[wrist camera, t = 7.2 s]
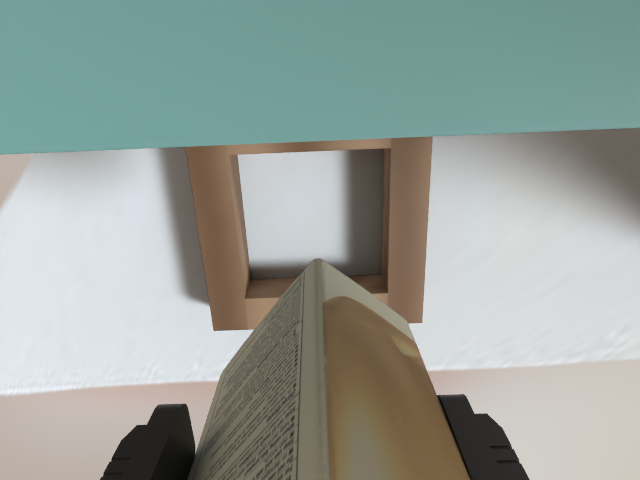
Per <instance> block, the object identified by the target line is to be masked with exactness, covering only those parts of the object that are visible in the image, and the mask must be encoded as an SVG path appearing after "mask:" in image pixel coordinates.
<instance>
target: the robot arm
mask: <svg viewBox="0 0 640 480" xmlns="http://www.w3.org/2000/svg"><path fill="white" fill-rule="evenodd" d="M437 397H438V399H439V402H440V405H441V407H442V409H443V412H444V414H445V417H446V419H447V422H448V424H449V427H450V429H451V432H452V434H453V436H454V439H455V441H456V444H457V446H458V449H459V451H460V454H461V456H462V459H463V462H464V464H465V467H466V469H467V471H468V474H469V476H470V479H471V480H529V478H528V476H527V474H526V472H525V470H524V468H523V467H522V465H521V464H520V463H519V459H518V457H517V455H516V453H515V451H514V450H513V449H512V447H511V444H510V442H509V440H508V438H507V436H506V435H505V433H504V431H503V429H502V428H501V427H500V426H499V425H498V424H497V423H496V422H495V421H494V420H493V419H492V418H491V417H490V416H489V415H488V414H474V412H473V410H472V408H471V406H470V403H469V401H468V399H467V397H466V396H465V395H464V394H462V395H461V394H459V395H437ZM194 458H195V441H194V437H193V431H192V426H191V421H190V416H189V411H188V407H187V405H186V404H163V405H158V406H157V407H156V408H155V410H154V412H153V414H152V416H151V418H150V420H149V422H148V424H147V425H137V426H136V427H135V428H134V429H133V430H132V431H131V432H130V433H129V434H128V435H127V436H126V437H125V438H123V439H122V440H121V442H120V444H119V446H118V448H117V450H116V451H115V453H114V455H113V457H112V461H111V462H109V464H108V466H107V468H106V470H105V472H104V475H103V477H101V479H100V480H187V479H188V476H189V473H190V470H191V467H192V464H193V461H194Z"/></svg>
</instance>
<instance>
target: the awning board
mask: <svg viewBox="0 0 640 480" xmlns="http://www.w3.org/2000/svg"><path fill="white" fill-rule="evenodd" d="M621 128H640V0H0V154H23V153H47V152H71V151H95V150H119V149H143V148H167V147H191V146H214V145H238V144H262V143H286V142H310V141H334V140H358V139H382V138H406V137H430V136H454V135H477V134H501V133H525V132H549V131H573V130H597V129H621Z"/></svg>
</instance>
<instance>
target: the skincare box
mask: <svg viewBox="0 0 640 480" xmlns="http://www.w3.org/2000/svg"><path fill="white" fill-rule="evenodd" d="M187 480H471V479H470V476H469V474H468V471H467V469H466V467H465V464H464V462H463V459H462V456H461V454H460V451H459V449H458V446H457V444H456V441H455V439H454V436H453V434H452V432H451V429H450V427H449V424H448V422H447V419H446V417H445V414H444V412H443V409H442V407H441V405H440V402H439V399H438V397H437V395H436V393H435V390H434V387H433V385H432V383H431V380H430V378H429V375H428V373H427V370H426V367H425V365H424V362H423V360H422V357H421V355H420V352H419V350H418V347H417V345H416V342H415V340H414V337H413V335H412V333H411V330H410V327H409V325H408V323H407V321H406V320H405V319H404V318H403V317H402V316H400V315H399V314H398V313H396V312H395V311H394V310H392V309H391V308H390V307H388V306H387V305H386V304H384V303H383V302H382V301H380V300H379V299H378V298H376V297H375V296H374V295H372V294H371V293H370V292H368V291H367V290H365V289H364V288H363V287H361V286H360V285H358V284H357V283H356V282H354V281H353V280H351V279H350V278H349V277H347V276H346V275H344V274H343V273H341V272H340V271H339V270H337V269H336V268H334V267H333V266H331V265H330V264H328V263H327V262H325V261H324V260H322V259H314V260H313V261H312V262H311V263H310V264H309V265H308V266H307V267H306V268H305V270H304V271H303V272H302V273H301V274H300V275H299V276H298V278H297V279H296V280H295V281H294V282H293V283H292V285H291V286H290V287H289V288H288V289H287V290H286V292H285V293H284V294H283V295H282V296H281V298H280V299H279V300H278V301H277V302H276V304H275V305H274V306H273V307H272V308H271V310H270V311H269V312H268V313H267V315H266V316H265V317H264V318H263V320H262V321H261V322H260V323H259V325H258V326H257V327H256V328H255V330H254V331H253V332H252V333H251V335H250V336H249V337H248V339H247V340H246V341H245V342H244V344H243V345H242V346H241V348H240V349H239V350H238V352H237V353H236V354H235V356H234V357H233V358H232V360H231V361H230V362H229V364H228V365H227V366H226V368H225V369H224V370H223V372H222V374H221V376H220V379H219V382H218V385H217V388H216V392H215V395H214V398H213V401H212V404H211V407H210V411H209V413H208V416H207V419H206V423H205V426H204V429H203V432H202V435H201V439H200V442H199V445H198V448H197V451H196V454H195V458H194V461H193V464H192V467H191V470H190V473H189V476H188V479H187Z"/></svg>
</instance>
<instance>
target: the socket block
mask: <svg viewBox="0 0 640 480" xmlns="http://www.w3.org/2000/svg"><path fill="white" fill-rule="evenodd" d="M380 148H383V213H382V275H357V276H347V277H349V278H350V279H351V280H353V281H354V282H356V283H357V284H358V285H360V286H361V287H363V288H364V289H365V290H367V291H368V292H370V293H371V294H372V295H374V296H375V297H376V298H378V299H379V300H380V301H382V302H383V303H384V304H386V305H387V306H388V307H390V308H391V309H392V310H394V311H395V312H396V313H398V314H399V315H400V316H402V317H403V318H404V319H405V320H406V321H407V323H422V315H423V297H424V280H425V262H426V244H427V226H428V208H429V190H430V172H431V154H432V136H430V137H406V138H382V139H358V140H334V141H310V142H286V143H262V144H238V145H214V146H191V147H186V154H187V160H188V167H189V173H190V180H191V186H192V193H193V199H194V206H195V212H196V219H197V225H198V232H199V238H200V245H201V251H202V258H203V264H204V271H205V277H206V284H207V290H208V297H209V303H210V310H211V316H212V323H213V329H214V331H222V330H248V329H255V328H256V327H257V326H258V325H259V323H260V322H261V321H262V320H263V318H264V317H265V316H266V315H267V313H268V312H269V311H270V310H271V308H272V307H273V306H274V305H275V304H276V302H277V301H278V300H279V299H280V298H281V296H282V295H283V294H284V293H285V292H286V290H287V289H288V288H289V287H290V286H291V285H292V283H293V282H294V281H295V280H296V279H297V278H281V279H255V280H251V275H250V266H249V257H248V248H247V239H246V230H245V221H244V212H243V202H242V193H241V184H240V175H239V166H238V157H237V154H260V153H284V152H308V151H332V150H356V149H380Z"/></svg>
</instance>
